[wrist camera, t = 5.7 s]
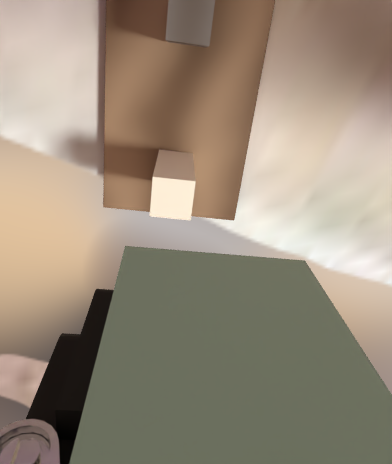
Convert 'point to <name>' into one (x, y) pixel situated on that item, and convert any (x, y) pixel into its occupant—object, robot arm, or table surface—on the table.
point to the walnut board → (181, 95)
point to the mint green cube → (229, 368)
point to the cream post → (173, 185)
